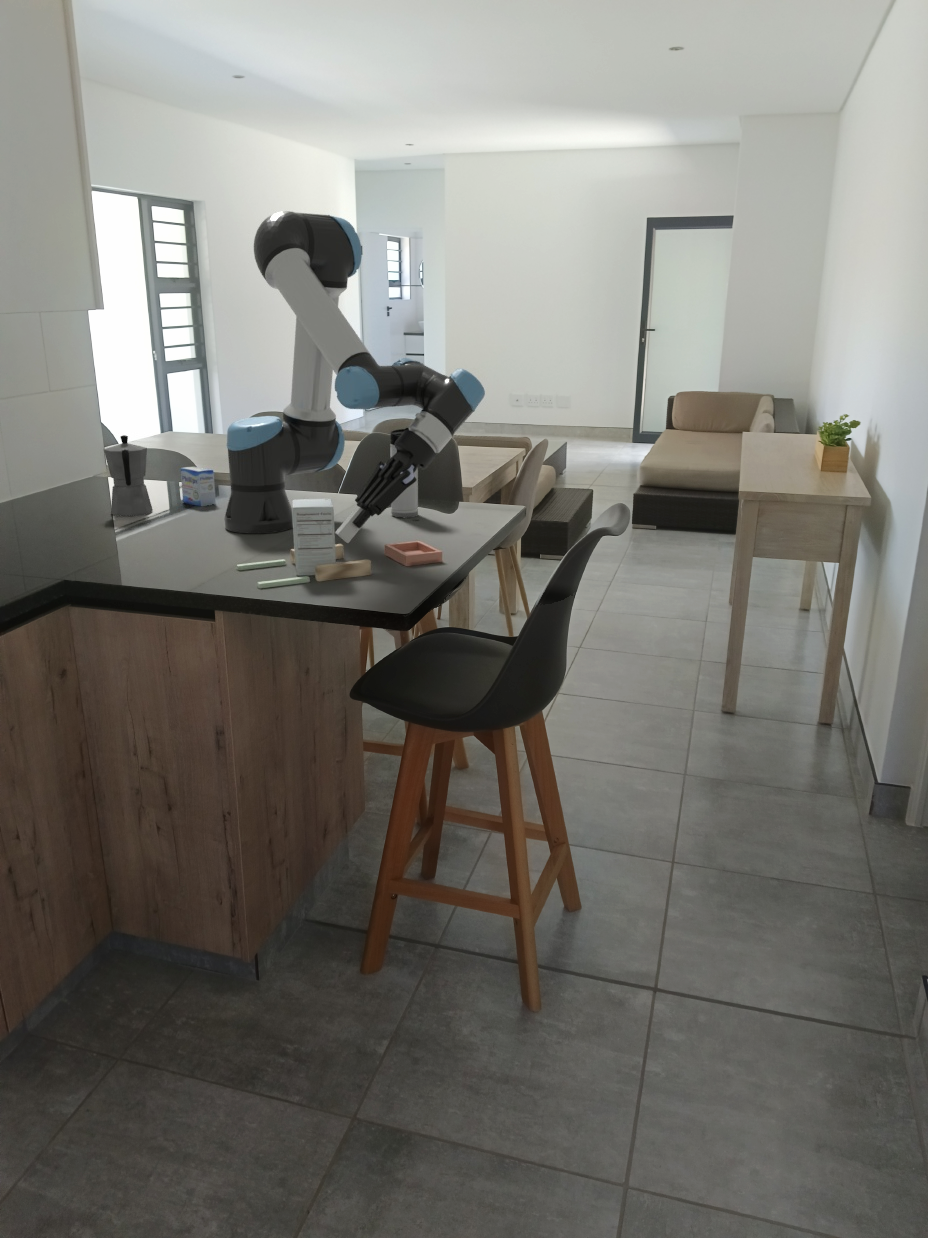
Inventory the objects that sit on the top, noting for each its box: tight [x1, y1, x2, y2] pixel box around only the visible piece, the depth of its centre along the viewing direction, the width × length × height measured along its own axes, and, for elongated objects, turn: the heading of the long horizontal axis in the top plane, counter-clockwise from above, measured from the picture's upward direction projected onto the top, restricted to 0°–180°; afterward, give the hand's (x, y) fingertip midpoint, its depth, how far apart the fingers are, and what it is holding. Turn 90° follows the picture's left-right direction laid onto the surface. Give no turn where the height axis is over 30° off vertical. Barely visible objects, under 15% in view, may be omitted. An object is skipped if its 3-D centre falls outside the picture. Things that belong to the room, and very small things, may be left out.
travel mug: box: [389, 427, 419, 519], centre depth 214 cm, size 6×7×20 cm
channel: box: [290, 543, 372, 582], centre depth 170 cm, size 10×15×2 cm, turn 29°
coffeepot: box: [103, 434, 153, 517], centre depth 213 cm, size 15×9×18 cm, turn 19°
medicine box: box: [180, 466, 217, 507], centre depth 227 cm, size 8×4×9 cm, turn 50°
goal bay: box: [235, 558, 311, 589], centre depth 165 cm, size 9×14×1 cm, turn 29°
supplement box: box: [291, 498, 337, 577], centre depth 167 cm, size 7×7×13 cm
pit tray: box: [383, 540, 443, 567], centre depth 178 cm, size 8×10×2 cm
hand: (341, 537), depth 170 cm, fingers closed
